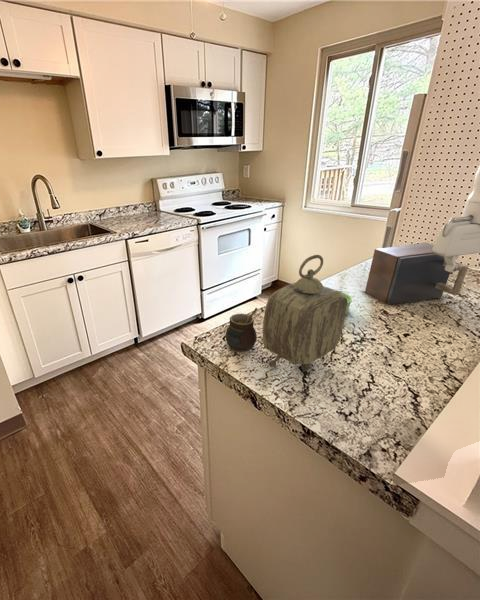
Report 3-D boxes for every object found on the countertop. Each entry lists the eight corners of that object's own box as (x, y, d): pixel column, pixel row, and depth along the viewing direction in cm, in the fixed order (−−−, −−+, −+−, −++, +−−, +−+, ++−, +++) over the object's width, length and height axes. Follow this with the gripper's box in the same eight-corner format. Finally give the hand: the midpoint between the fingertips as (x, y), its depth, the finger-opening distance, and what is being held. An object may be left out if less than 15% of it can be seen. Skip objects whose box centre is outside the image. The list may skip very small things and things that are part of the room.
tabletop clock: (301, 343, 75) (316, 243, 65) (338, 361, 68) (362, 252, 57) (259, 366, 69) (268, 259, 58) (295, 388, 62) (313, 272, 51)
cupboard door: (461, 305, 84) (479, 257, 78) (405, 313, 83) (420, 265, 77) (438, 296, 90) (453, 250, 84) (386, 303, 89) (398, 257, 83)
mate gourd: (219, 344, 78) (219, 309, 74) (242, 335, 81) (244, 301, 77) (237, 358, 72) (239, 321, 68) (263, 348, 75) (266, 312, 71)
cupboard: (437, 296, 90) (453, 249, 84) (385, 303, 89) (397, 256, 83) (412, 286, 97) (425, 242, 91) (364, 292, 96) (374, 248, 90)
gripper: (461, 220, 69) (441, 277, 75) (544, 211, 71) (518, 268, 76) (434, 215, 75) (418, 269, 81) (511, 207, 76) (489, 260, 82)
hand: (467, 268), depth 79 cm, fingers open, 8 cm apart
